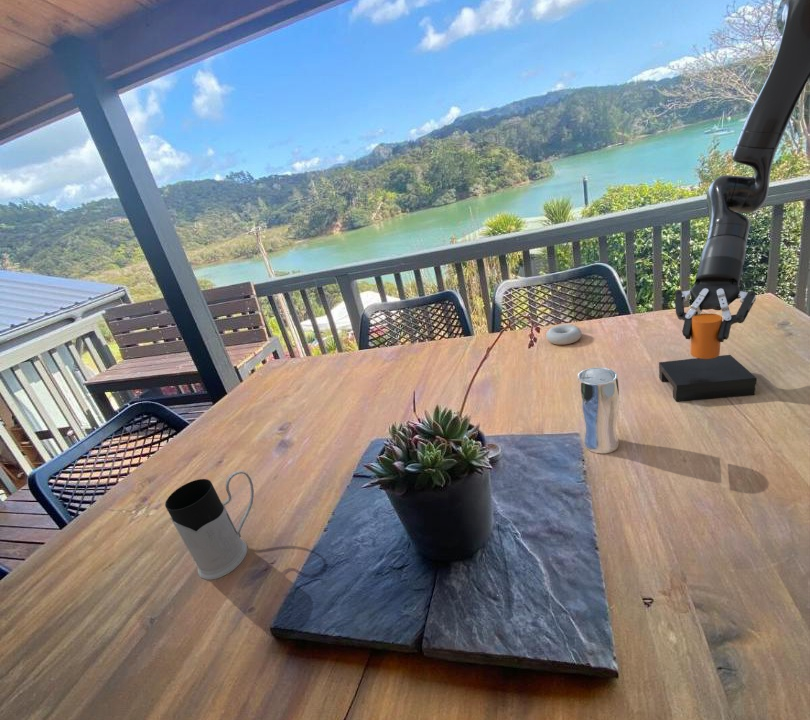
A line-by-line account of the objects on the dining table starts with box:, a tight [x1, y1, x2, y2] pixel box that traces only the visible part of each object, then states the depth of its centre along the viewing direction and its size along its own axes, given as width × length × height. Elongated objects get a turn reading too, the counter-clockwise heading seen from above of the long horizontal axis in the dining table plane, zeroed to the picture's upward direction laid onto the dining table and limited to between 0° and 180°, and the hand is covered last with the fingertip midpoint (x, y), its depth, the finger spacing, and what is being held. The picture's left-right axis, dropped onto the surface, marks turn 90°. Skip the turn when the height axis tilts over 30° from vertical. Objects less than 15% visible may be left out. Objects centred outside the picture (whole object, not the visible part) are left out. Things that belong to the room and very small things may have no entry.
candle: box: [689, 313, 723, 359], centre depth 89 cm, size 5×5×8 cm
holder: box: [164, 470, 255, 581], centre depth 77 cm, size 9×14×15 cm, turn 135°
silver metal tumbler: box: [577, 366, 621, 455], centre depth 81 cm, size 7×7×15 cm
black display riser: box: [658, 354, 758, 403], centre depth 92 cm, size 14×11×4 cm
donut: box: [545, 324, 582, 346], centre depth 129 cm, size 10×4×10 cm
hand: (703, 339), depth 87 cm, fingers closed on candle, 5 cm apart
